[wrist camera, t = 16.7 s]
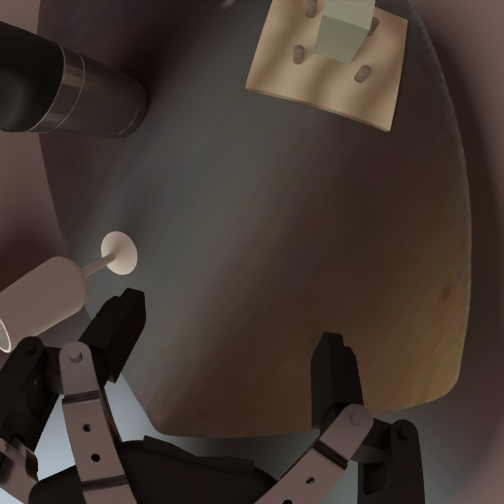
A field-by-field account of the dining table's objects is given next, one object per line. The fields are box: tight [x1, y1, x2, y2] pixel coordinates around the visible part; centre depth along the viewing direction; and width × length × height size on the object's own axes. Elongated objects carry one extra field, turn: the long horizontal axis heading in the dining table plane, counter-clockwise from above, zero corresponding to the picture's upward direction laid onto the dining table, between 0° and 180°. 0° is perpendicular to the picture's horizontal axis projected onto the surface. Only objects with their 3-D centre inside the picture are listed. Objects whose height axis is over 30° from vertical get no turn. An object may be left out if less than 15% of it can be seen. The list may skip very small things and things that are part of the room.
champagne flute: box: [0, 231, 138, 352], centre depth 28 cm, size 7×7×24 cm
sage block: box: [313, 0, 375, 64], centre depth 22 cm, size 4×4×10 cm
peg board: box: [245, 0, 408, 132], centre depth 26 cm, size 18×18×5 cm
